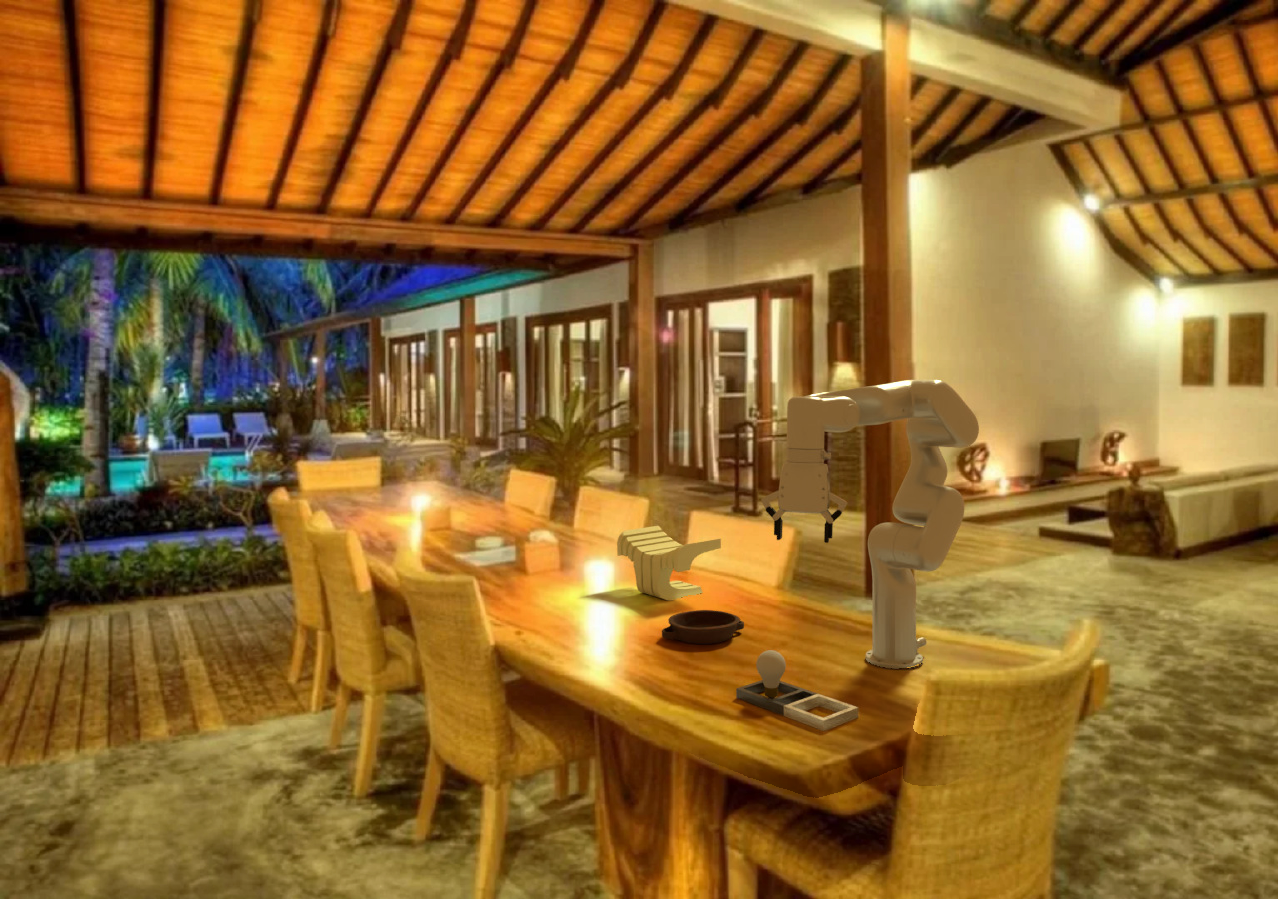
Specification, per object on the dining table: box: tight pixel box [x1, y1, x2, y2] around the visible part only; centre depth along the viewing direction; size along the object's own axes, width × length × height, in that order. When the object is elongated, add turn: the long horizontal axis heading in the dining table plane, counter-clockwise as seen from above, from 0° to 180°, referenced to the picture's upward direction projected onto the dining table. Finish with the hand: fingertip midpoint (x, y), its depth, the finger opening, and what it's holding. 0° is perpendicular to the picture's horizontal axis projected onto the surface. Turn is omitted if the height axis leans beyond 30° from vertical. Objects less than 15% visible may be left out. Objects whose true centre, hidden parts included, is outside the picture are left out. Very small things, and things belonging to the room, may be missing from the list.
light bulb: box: [755, 649, 787, 699], centre depth 187 cm, size 6×6×10 cm
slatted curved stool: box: [616, 525, 722, 601], centre depth 275 cm, size 30×16×18 cm, turn 36°
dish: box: [661, 609, 745, 645], centre depth 231 cm, size 18×22×5 cm
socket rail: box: [735, 679, 859, 732], centre depth 182 cm, size 10×23×2 cm, turn 38°
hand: (802, 540), depth 189 cm, fingers open, 9 cm apart
